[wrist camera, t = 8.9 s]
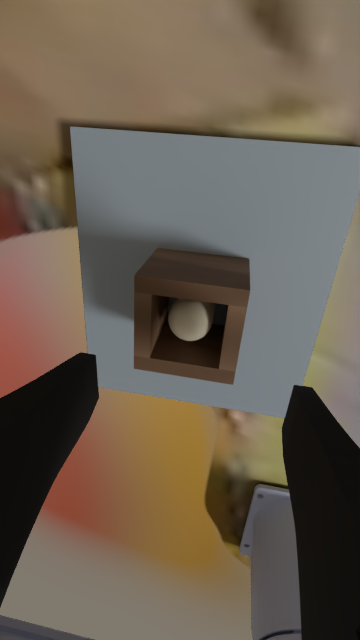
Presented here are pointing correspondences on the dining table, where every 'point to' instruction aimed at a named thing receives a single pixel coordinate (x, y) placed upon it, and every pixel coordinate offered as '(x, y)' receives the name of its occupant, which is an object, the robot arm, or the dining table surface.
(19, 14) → the dining table surface
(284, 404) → the grey rectangular slab
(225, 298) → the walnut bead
